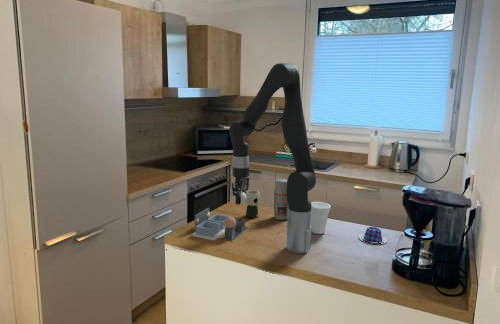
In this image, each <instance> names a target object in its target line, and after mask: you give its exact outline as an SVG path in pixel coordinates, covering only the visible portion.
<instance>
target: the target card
mask: <svg viewBox="0 0 500 324" xmlns="http://www.w3.org/2000/svg"><path fill="white" fill-rule="evenodd" d="M210 215H211V213H210V207H207V208H205V209H204V210H201V211H199V212H198V213H197V214H195V215H194V233H195V232H196V226H198V225H199V224H201V223H202V222H204V221H207V219H209V218H210V217H211V216H210Z"/></svg>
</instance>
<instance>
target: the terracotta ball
mask: <svg viewBox="0 0 500 324" xmlns="http://www.w3.org/2000/svg"><path fill="white" fill-rule="evenodd" d="M236 220H237V219H235V218H234V217H233V216H229V217H228V218H226V219H225V222H224V224H225V226H226V227H227V228H229V229H231V228H234V227H235V225H236Z"/></svg>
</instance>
